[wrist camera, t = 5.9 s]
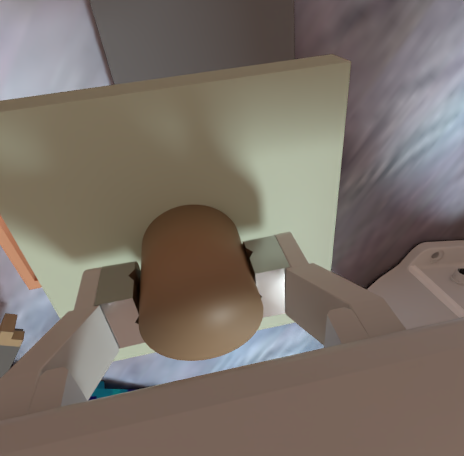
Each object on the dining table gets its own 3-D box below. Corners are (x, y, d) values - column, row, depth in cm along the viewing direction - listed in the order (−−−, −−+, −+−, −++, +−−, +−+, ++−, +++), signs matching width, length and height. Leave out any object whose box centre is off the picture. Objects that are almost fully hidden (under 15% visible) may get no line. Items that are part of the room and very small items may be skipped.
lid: (332, 54, 10) (429, 92, 7) (316, 295, 16) (362, 384, 12) (-33, 105, 9) (-149, 183, 6) (91, 342, 15) (73, 452, 11)
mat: (289, -47, 21) (293, -48, 20) (292, 143, 28) (295, 147, 27) (86, -18, 20) (83, -18, 19) (142, 171, 27) (141, 175, 26)
